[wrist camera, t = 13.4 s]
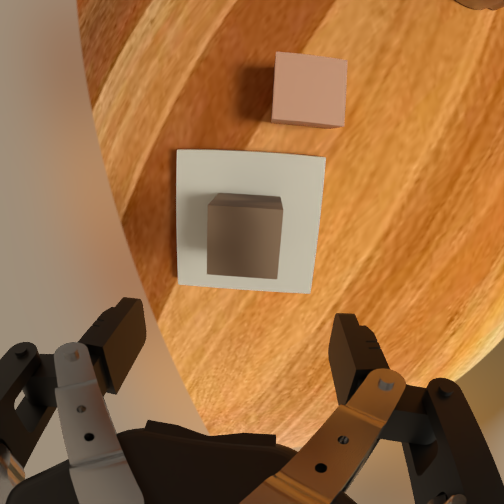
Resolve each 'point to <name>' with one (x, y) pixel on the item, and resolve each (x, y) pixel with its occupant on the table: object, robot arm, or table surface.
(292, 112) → the pink cube
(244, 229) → the walnut brick
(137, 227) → the table surface
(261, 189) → the base plate
